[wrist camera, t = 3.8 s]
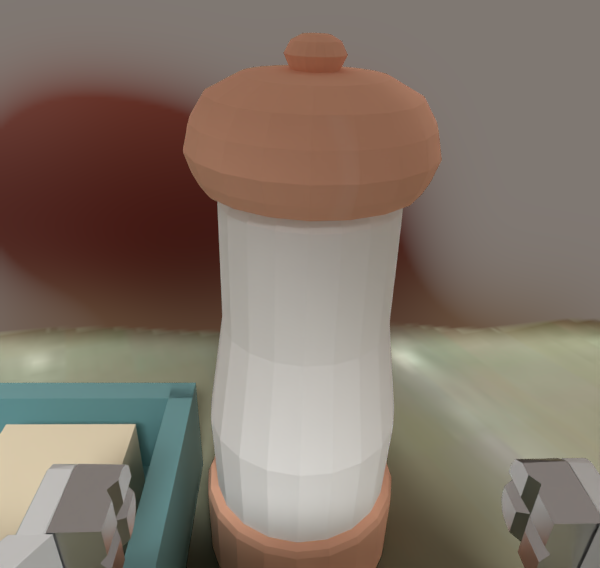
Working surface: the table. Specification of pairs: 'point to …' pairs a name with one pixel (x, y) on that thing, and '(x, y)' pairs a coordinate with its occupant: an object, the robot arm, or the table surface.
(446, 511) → the table surface
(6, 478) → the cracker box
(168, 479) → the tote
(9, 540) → the robot arm
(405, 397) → the table surface
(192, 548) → the table surface
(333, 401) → the salt shaker
